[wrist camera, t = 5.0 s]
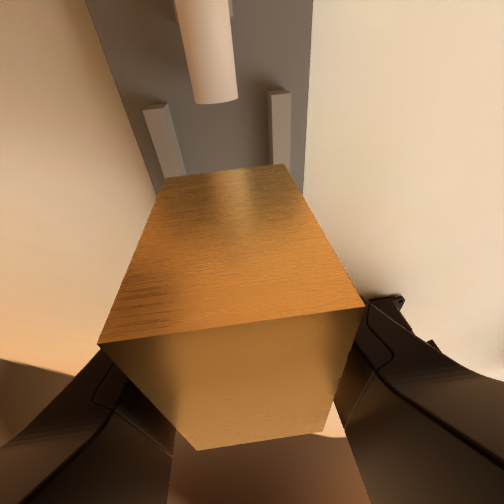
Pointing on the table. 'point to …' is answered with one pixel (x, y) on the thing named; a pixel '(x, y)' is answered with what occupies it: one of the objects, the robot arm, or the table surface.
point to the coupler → (234, 309)
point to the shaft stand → (211, 81)
